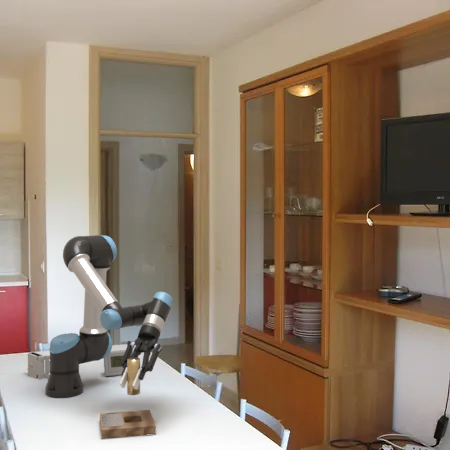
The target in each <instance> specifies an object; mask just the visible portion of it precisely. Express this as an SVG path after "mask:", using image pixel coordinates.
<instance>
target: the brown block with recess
mask: <svg viewBox="0 0 450 450" xmlns="http://www.w3.org/2000/svg"><path fill="white" fill-rule="evenodd" d="M99 426H100V436H101V437H100V438H101V440H105V439H106V438H107V439H116V438H117V439H118V438H128V437H129V438H130V436H131V437H141V436H140V435H143V436H148V435H147V434H155V435H156V434H157V433H156V431H157V430H156V428H157V426H156V423H155V420H154V417H153V414H152V411H151V410H150V409H144V410H129V411H116V412H115V411H114V412H102V413H99Z"/></svg>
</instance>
